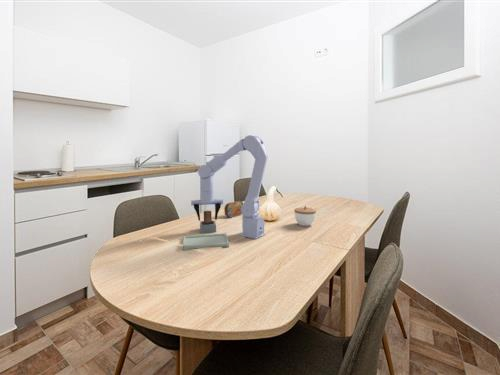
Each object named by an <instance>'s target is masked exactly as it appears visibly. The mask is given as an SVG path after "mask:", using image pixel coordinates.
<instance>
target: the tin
mask: <svg viewBox="0 0 500 375" xmlns="http://www.w3.org/2000/svg"><path fill="white" fill-rule="evenodd" d="M243 204H244V202H243V201H242V200H235V201H232V202H228V203H226V204H225V206H224V209H223V210H224V216H226V217H227V218H230V219H233V218H235V216H236V217H238V216H239V217H240V216H241V215H242V212H241V206H242V205H243ZM232 217H233V218H232Z"/></svg>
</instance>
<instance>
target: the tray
mask: <svg viewBox="0 0 500 375" xmlns="http://www.w3.org/2000/svg"><path fill="white" fill-rule="evenodd" d="M213 247H220V248H230V242H229V239H228V235H227V233H210V234H208V233H207V234H194V235H193V234H191V235H184V236H183V242H182V250H183V251H188V250H199V249H200V248H213Z"/></svg>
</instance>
